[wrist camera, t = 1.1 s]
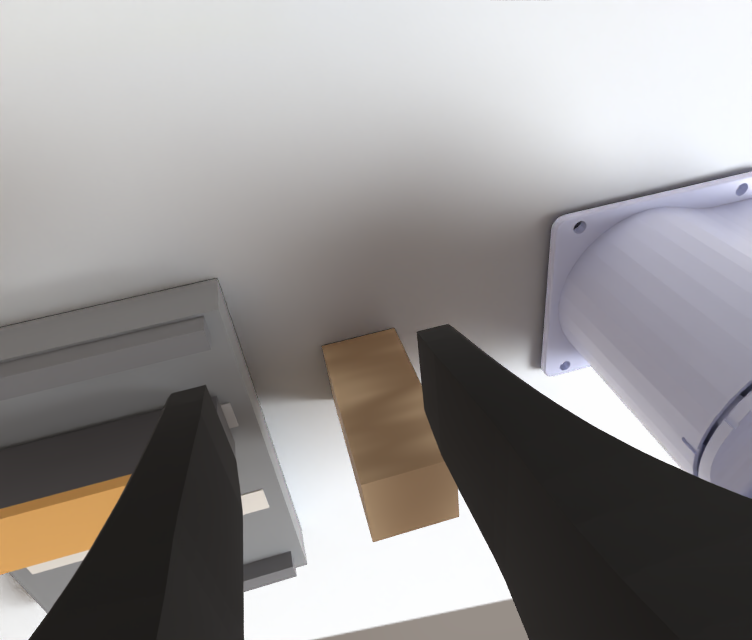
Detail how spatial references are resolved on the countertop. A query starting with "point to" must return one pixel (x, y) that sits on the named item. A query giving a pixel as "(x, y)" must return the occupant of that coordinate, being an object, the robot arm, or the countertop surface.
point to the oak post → (389, 435)
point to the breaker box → (146, 405)
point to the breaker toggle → (68, 488)
